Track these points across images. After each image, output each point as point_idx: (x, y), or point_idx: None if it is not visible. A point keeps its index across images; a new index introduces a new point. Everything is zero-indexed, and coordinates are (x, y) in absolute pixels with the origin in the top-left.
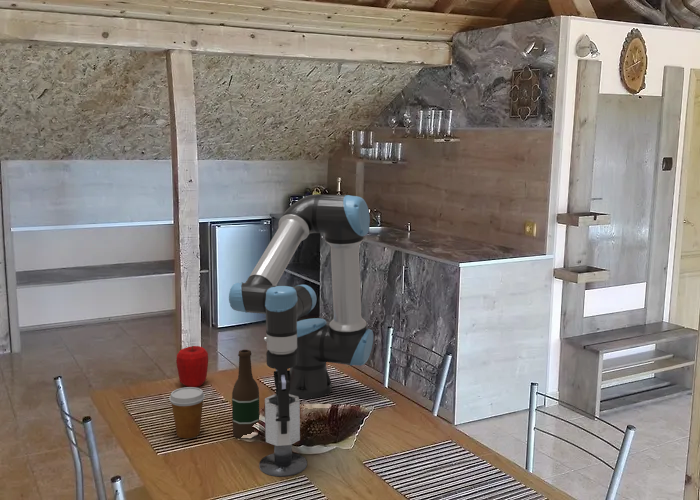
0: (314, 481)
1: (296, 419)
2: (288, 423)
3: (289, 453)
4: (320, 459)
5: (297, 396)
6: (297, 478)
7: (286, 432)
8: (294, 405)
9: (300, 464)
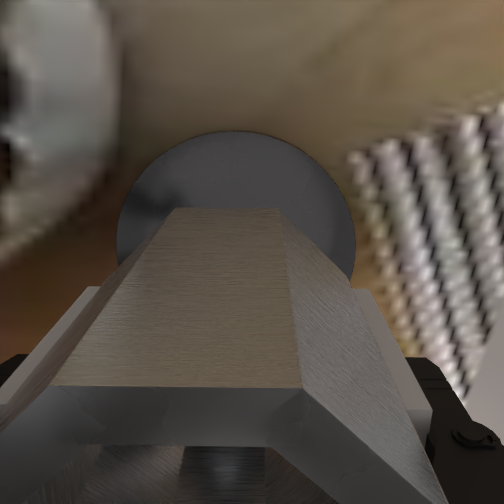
0: (437, 109)
1: (326, 309)
2: (419, 392)
3: None
4: (193, 45)
5: (35, 397)
6: (384, 193)
7: (437, 370)
8: (390, 454)
9: (265, 169)
